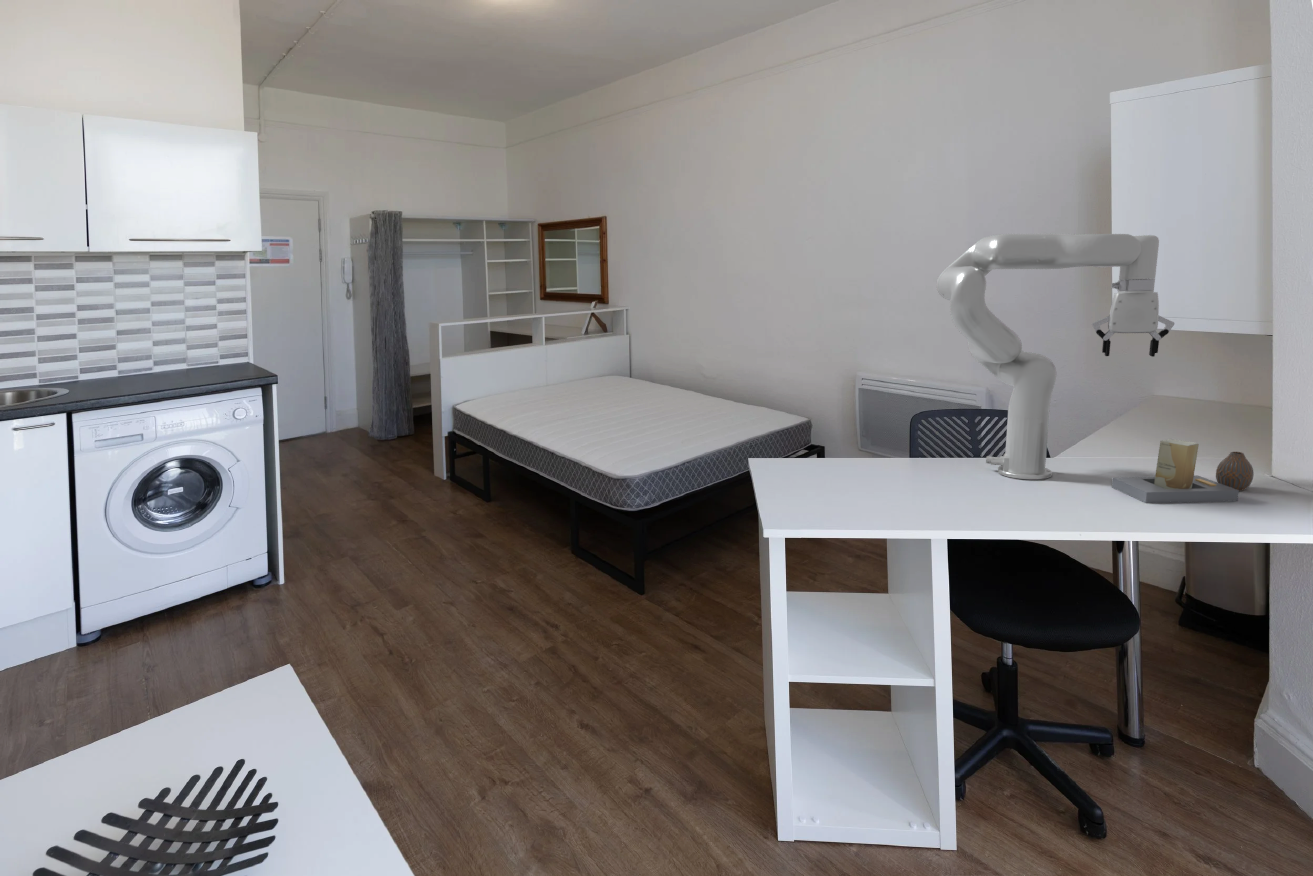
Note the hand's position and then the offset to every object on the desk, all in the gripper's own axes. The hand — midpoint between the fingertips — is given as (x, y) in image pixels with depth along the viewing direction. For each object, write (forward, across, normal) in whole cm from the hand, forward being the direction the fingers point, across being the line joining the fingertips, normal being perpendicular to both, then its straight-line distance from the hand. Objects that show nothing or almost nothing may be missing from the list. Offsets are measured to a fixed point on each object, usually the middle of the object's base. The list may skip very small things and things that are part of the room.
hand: (1129, 355), depth 180 cm
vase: (+31, +22, -10) cm, 39 cm away
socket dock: (+30, +9, -19) cm, 37 cm away
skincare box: (+30, +9, -19) cm, 37 cm away
